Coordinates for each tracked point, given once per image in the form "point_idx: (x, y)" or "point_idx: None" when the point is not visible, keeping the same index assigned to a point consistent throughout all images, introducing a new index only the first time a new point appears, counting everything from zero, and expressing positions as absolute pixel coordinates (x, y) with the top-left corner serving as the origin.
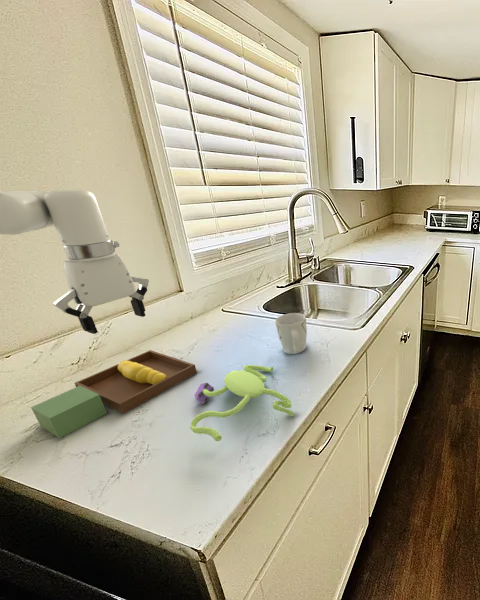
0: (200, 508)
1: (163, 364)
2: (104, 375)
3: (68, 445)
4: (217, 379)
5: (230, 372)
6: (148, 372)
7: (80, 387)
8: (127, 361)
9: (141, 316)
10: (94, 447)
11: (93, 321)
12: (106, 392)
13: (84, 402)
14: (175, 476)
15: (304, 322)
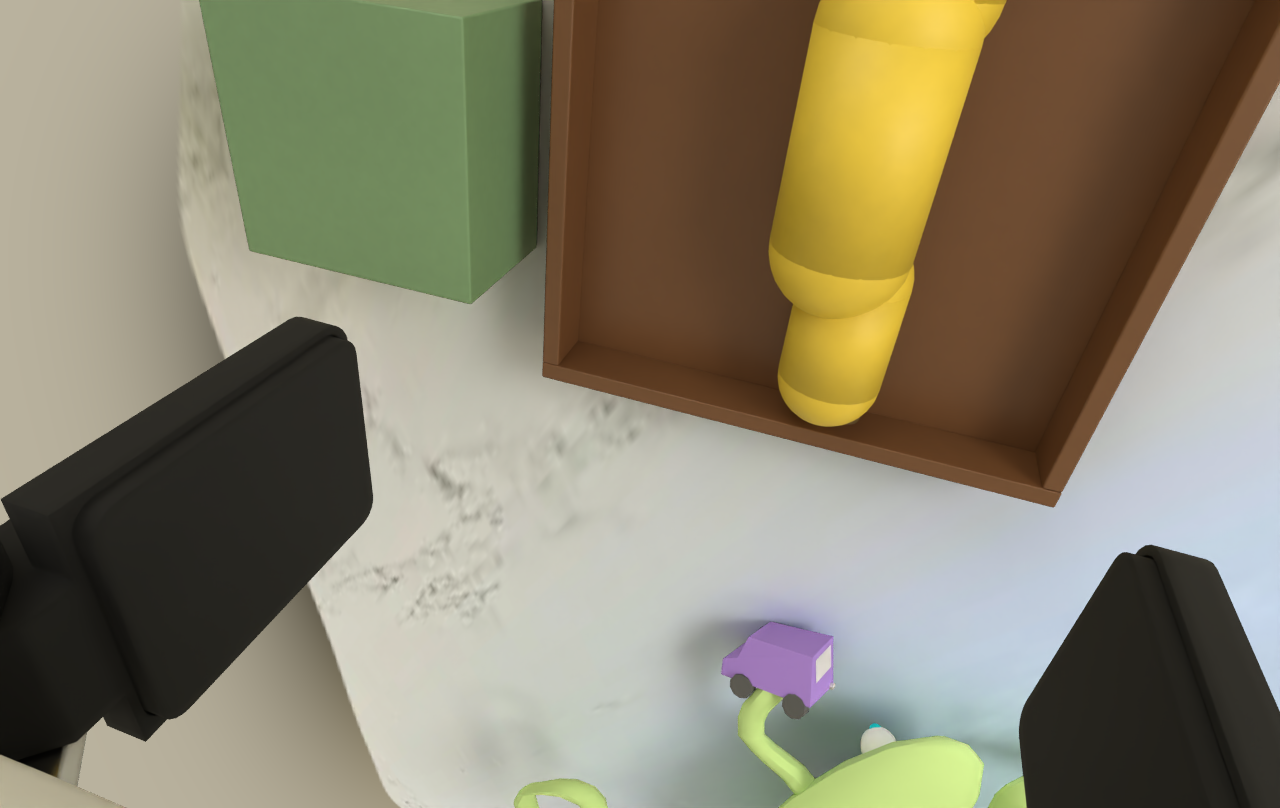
0: (436, 788)
1: (1163, 98)
2: None
3: (349, 296)
4: (973, 611)
5: (928, 775)
6: (829, 317)
7: (453, 59)
8: None
9: (1025, 704)
10: (398, 413)
11: (239, 653)
12: (654, 28)
13: (399, 284)
14: (460, 713)
15: None
